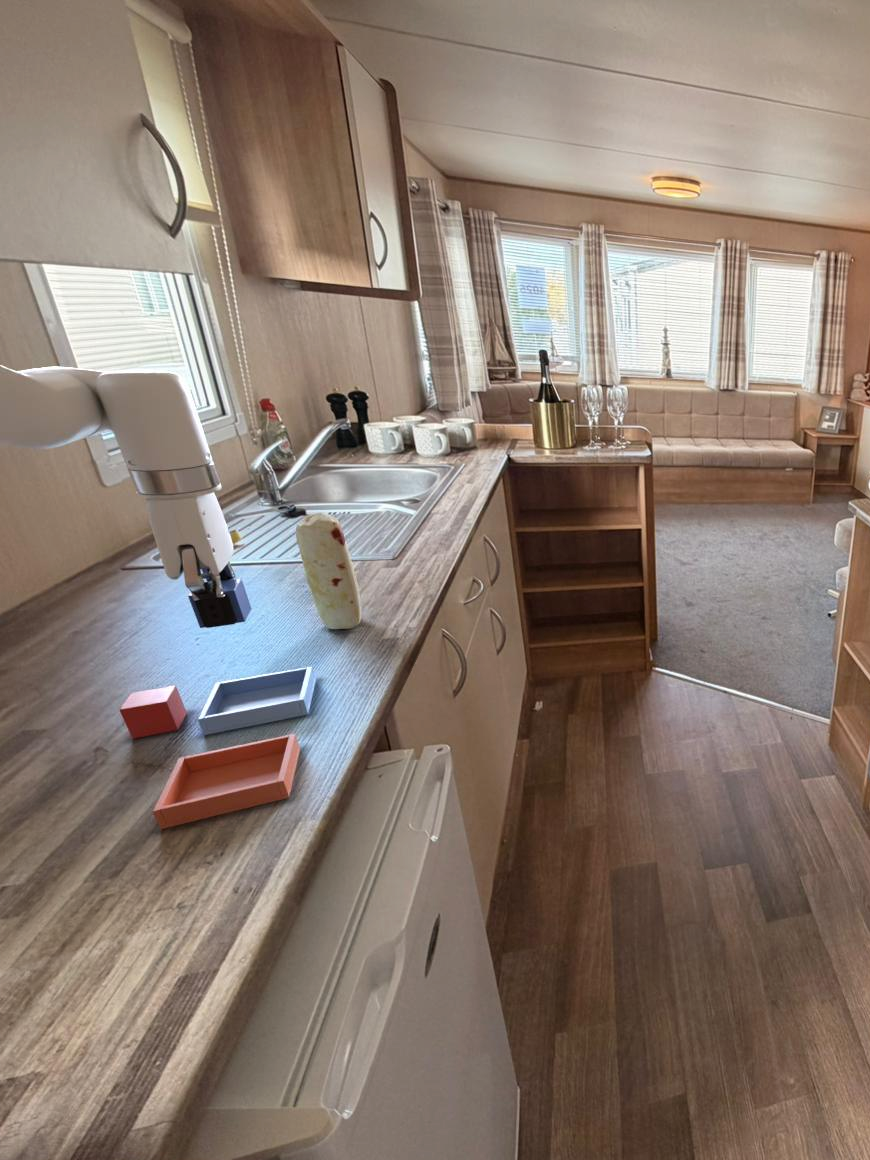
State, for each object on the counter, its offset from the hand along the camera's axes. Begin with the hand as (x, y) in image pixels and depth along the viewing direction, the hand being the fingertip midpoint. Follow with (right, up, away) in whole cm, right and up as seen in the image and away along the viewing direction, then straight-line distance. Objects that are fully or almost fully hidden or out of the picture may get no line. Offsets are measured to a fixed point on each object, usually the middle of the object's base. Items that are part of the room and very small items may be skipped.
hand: (225, 615), depth 83 cm
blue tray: (-1, -13, +7) cm, 15 cm away
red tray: (+9, -20, -8) cm, 23 cm away
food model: (-7, -2, +31) cm, 32 cm away
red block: (-10, -15, +2) cm, 18 cm away
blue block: (0, 0, 0) cm, 0 cm away
